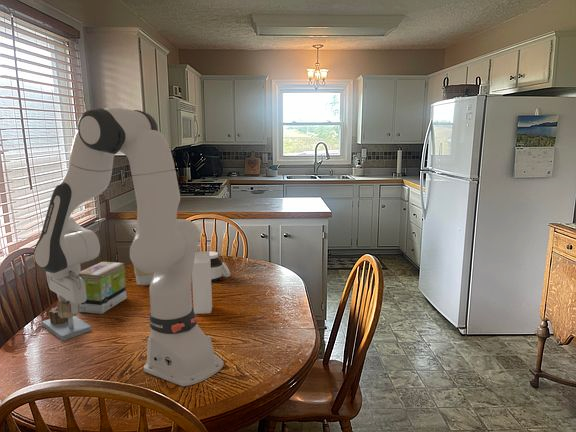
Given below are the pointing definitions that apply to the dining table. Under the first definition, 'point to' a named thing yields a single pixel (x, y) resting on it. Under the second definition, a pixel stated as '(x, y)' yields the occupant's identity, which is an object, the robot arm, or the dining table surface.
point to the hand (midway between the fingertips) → (69, 309)
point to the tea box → (103, 286)
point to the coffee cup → (143, 277)
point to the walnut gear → (56, 317)
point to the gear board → (67, 328)
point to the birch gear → (65, 309)
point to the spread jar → (217, 267)
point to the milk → (202, 283)
